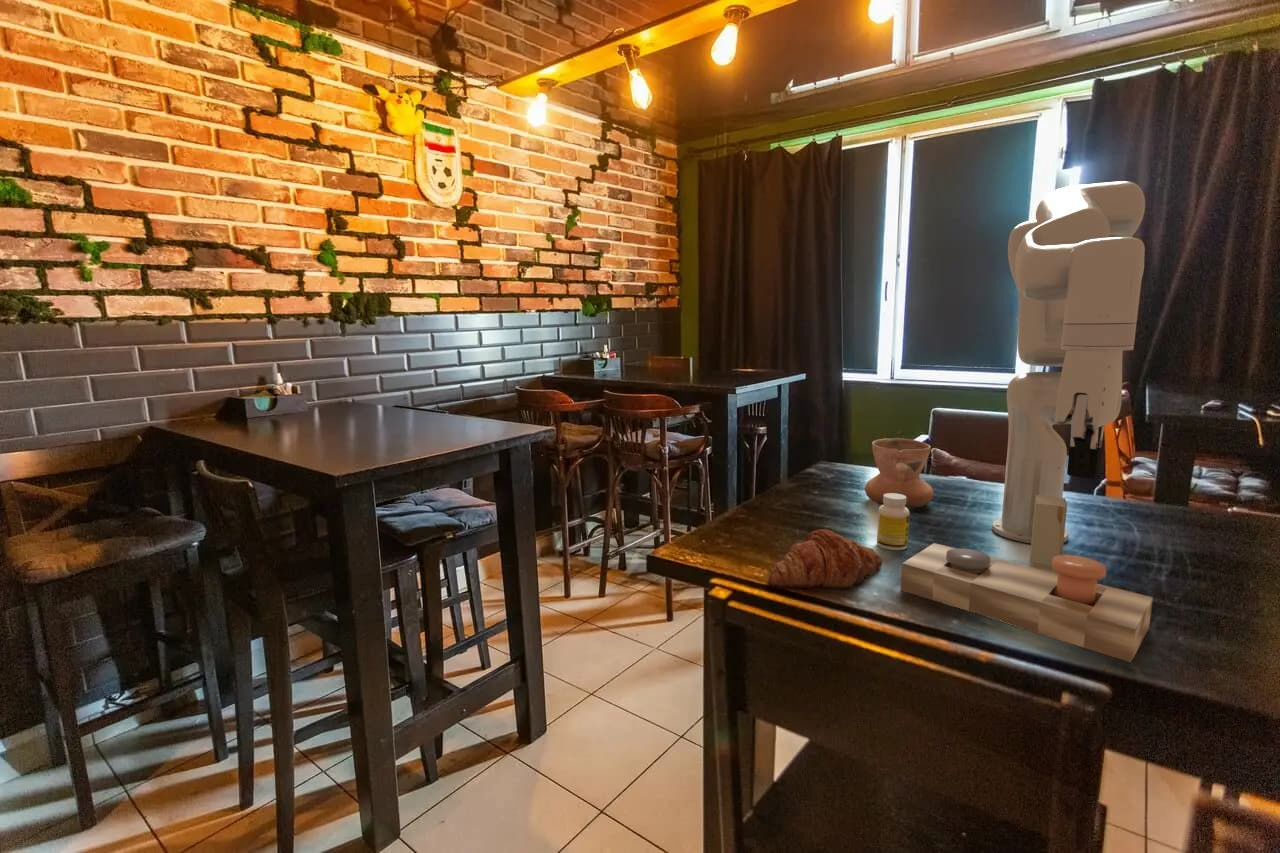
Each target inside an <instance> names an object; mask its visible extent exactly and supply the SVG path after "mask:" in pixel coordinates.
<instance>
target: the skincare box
mask: <svg viewBox="0 0 1280 853" xmlns="http://www.w3.org/2000/svg"><path fill="white" fill-rule="evenodd" d="M1067 512H1068V504H1067V500H1066V498H1065V497H1062V498H1058V497H1050V496H1041V495H1036V496H1035V506H1034V517H1033V528H1032V539H1031V543H1030V552H1029V553H1030V554H1029V562H1028V563H1029V564H1028V565H1029V566H1028V567H1033V568H1037V569H1041V570H1045V571H1049V572H1053V573H1057V574H1058V572H1057V571H1055V570H1054V569H1053V568H1052V559H1053V557H1055V556H1059V555H1063V551H1064V543H1065V542H1064V532H1065V530H1066V522H1067V521H1066V520H1067Z"/></svg>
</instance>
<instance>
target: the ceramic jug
mask: <svg viewBox="0 0 1280 853" xmlns="http://www.w3.org/2000/svg"><path fill="white" fill-rule="evenodd" d="M871 443H872V444H871V447H872V454H873V458H874V461H875V464H876V467H877V469H878V471H879V473H878V474H877V475H876V476H874V477H872V478H869V480H868V481H867V482H866V484H865V485H864V491H865V494H866V496H867V498H868V499H870V500H871V501H872V502H873V503H875V504H878V505H880V506H882V505H884V503H883V495H884V494H887V493H897V494H902V495H905V496H906V505H905V507H906V508H908V510H909V509H916V508H919V507H923V506H927V504H929V503H930V502H931V501H932V500H933V497H934V495H935V494H934V490H933V488H932V486H931V485H930V484H929V483H928V482H926V481H925V480H923V479H922V478H921V477H920V475H921V473H922V471H923V470H924V467H925V465H926V463H927V461H928V459H929V456H930V453H931V449H932V448H931V447H932V446H931V445H930V444H928V443H926V442H924V441H919V440H915V439H910V438H901V437H894V438H889V437H887V438H881V439H880V438H879V439H876V440H873V441H872V442H871Z"/></svg>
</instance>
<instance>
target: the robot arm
mask: <svg viewBox="0 0 1280 853" xmlns="http://www.w3.org/2000/svg"><path fill="white" fill-rule="evenodd" d="M1145 210H1146V199H1145V194H1144V191H1143V189H1142V188H1141V187H1140V186H1139V185H1138V184H1137V183H1136V182H1133V181H1128V180H1127V181H1126V180H1122V181H1121V180H1120V181H1119V180H1118V181H1110V182H1109V181H1108V182H1097V183H1090V184H1089V183H1088V184H1087V183H1086V184H1077V185H1076V184H1074V185H1067V186H1065V187H1061V188H1057V189H1055V190H1053V191H1051V192H1050V193H1048V194H1046V196H1044V197H1043V198H1042V199H1041V201H1040V202H1039V203H1038V205H1037V208H1036V211H1035V219H1031V220H1027V221H1024V222H1021V223H1019V224H1018V225H1016V226H1015V227H1013V229H1012V230H1011V232H1010V234H1009V237H1008V245H1007V257H1008V265H1009V269H1010V273H1011V276H1012V279H1013V282H1014V284H1015V287H1016V289H1017V290H1016V291H1017V293H1018V302H1019V303H1018V304H1019V305H1018V326H1017V352H1018V357H1019V359H1020V361H1021V362H1023V363H1024V364H1026V365H1029V366H1035V367H1036V366H1037V367H1060V368H1061V367H1062V368H1061V371H1031V372H1025V373H1021V374H1019V375H1016V376H1015V377H1013V378H1012V379H1011V380H1010V382H1009V383H1008V386H1007V389H1006V404H1007V416H1008V438H1007V439H1008V440H1007V450H1006V452H1007V453H1006V462H1005V463H1006V464H1005V476H1004V486H1003V499H1002V509H1001V510H1002V511H1001V518H998V519H995V520H993V522H992V524H991V529H992V531H993V532H994V533H995V534H997V535H999V536H1000V537H1004V538H1005V539H1009V540H1011V541H1016V542H1020V543H1026V544H1031V539H1032V528H1033V517H1034V506H1035V496H1036V495H1041V496H1050V497H1058V498H1063V494H1064V493H1063V492H1064V487H1065V486H1064V484H1065V476H1066V474H1067V476H1070V477H1075V478H1082V479H1088V480H1094V479H1096V478H1097V477H1099V475H1100V471H1101V470H1100V468H1101V460H1102V452H1103V447H1102V444H1103V439H1104V430H1105V425H1109V424H1111V423H1113V422H1114V421H1116V419H1117V418H1118V417H1119V415H1120V411H1121V407H1122V401H1123V400H1122V398H1123V397H1122V396H1123V395H1122V394H1123V393H1122V392H1123V351H1133V350H1134V348H1135V346H1134V345H1135V338H1136V330H1137V321H1138V313H1139V312H1138V311H1139V306H1140V305H1139V304H1140V294H1141V287H1142V286H1141V285H1142V279H1143V275H1144V270H1145V254H1146V253H1145V250H1146V248H1145V244H1144V242H1143V240H1142V239H1140V238H1137V237H1133V236H1134V234H1136V232H1137V231H1138V229H1139V227H1140V224H1141V223H1142V221H1143V219H1144V215H1145ZM1054 425H1058V426H1063V425H1071V426H1070V440H1069V441H1070V442H1069V450H1068V449H1067V448H1068V447H1067V445H1066V443H1065V440H1064V439H1063V438H1062V437H1061V435H1060V434H1058V432H1057V431H1056V430H1055V429H1054V428H1053V426H1054ZM1068 451H1069V452H1068ZM1067 455H1068V461H1067ZM1066 465H1067V467H1066ZM1066 468H1067V470H1066ZM1066 471H1067V472H1066ZM1065 473H1066V474H1065ZM1068 540H1069V532H1068V531H1067V530H1066V529H1065V532H1064V543H1066V542H1067V541H1068Z"/></svg>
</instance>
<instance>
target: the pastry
mask: <svg viewBox="0 0 1280 853" xmlns="http://www.w3.org/2000/svg"><path fill="white" fill-rule="evenodd" d="M882 565H883V559H882V557H881V556H880V555H879V553H878V552H876V550H875V549H873V548H871V547H867V546H863V545H861V544H860V543H858V542H856V541H855V540H852V539H849V538H846V537H845V536H842V535H840V534H838V533H836V532H835V531H832V530H829V529H824V528H823V529H822V528H820V529H816V530H813V531H811V532H809V534H807V536H806V538H805V541H803V542H802V543H801V542H800V543H794V544H792V545H791V546H790V548H789V550H788V552H787V553H786V554H785V555H784V556H783V558H782V560H780V561H778V562H776V563H774V564H773V565H772V567H771V569H770V573H769V575H768V583H769V584H770V586H772V587H775V588H781V589H782V588H785V589H787V588H789V589H792V588H797V589H807V590H808V589H816V588H820V589H831V590H849V589H851V588H852V587H855V586H858V585H859V584H861V583H863V581H864V579H865V578H869V577H871V576H873V574H874V573H875V572H877V571H879V570H880V569H881V568H882Z"/></svg>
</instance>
